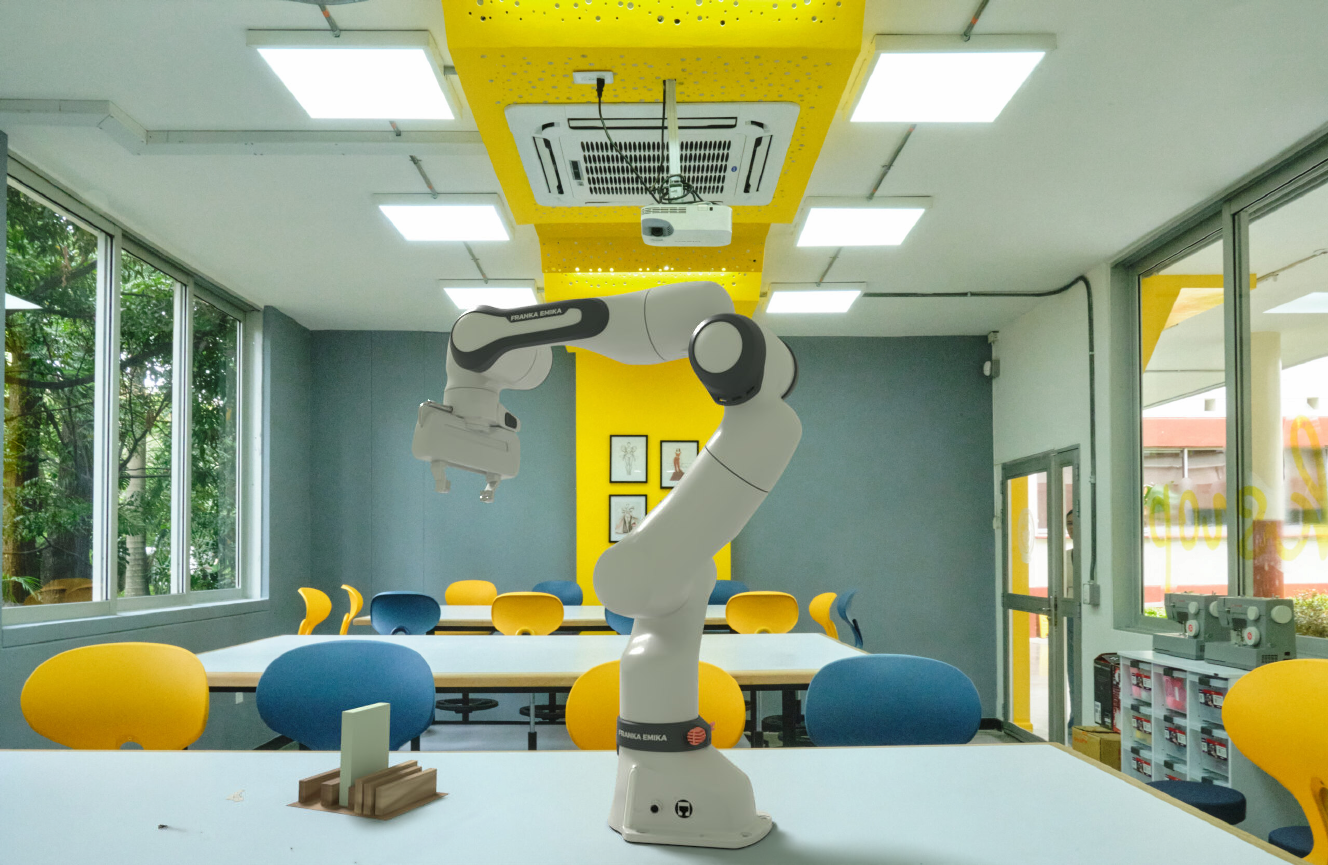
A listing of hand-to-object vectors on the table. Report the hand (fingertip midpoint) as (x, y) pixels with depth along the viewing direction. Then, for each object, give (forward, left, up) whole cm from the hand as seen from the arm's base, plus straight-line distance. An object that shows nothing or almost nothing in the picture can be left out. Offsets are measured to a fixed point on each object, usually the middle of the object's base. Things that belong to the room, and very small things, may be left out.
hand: (465, 497), depth 145 cm
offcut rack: (+9, +10, -46) cm, 47 cm away
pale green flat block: (+10, +10, -44) cm, 46 cm away
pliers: (+27, +20, -46) cm, 57 cm away
